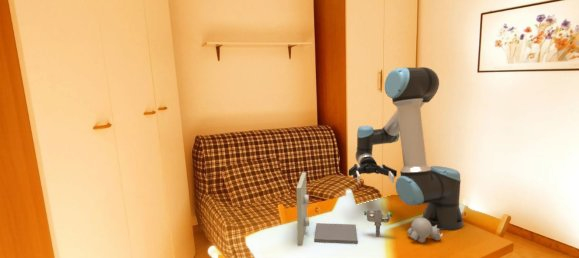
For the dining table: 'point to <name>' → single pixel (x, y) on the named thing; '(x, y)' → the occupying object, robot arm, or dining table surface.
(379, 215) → the mechanical component
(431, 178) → the robot arm
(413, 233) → the chubby cartoon animal
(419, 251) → the dining table surface
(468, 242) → the dining table surface
